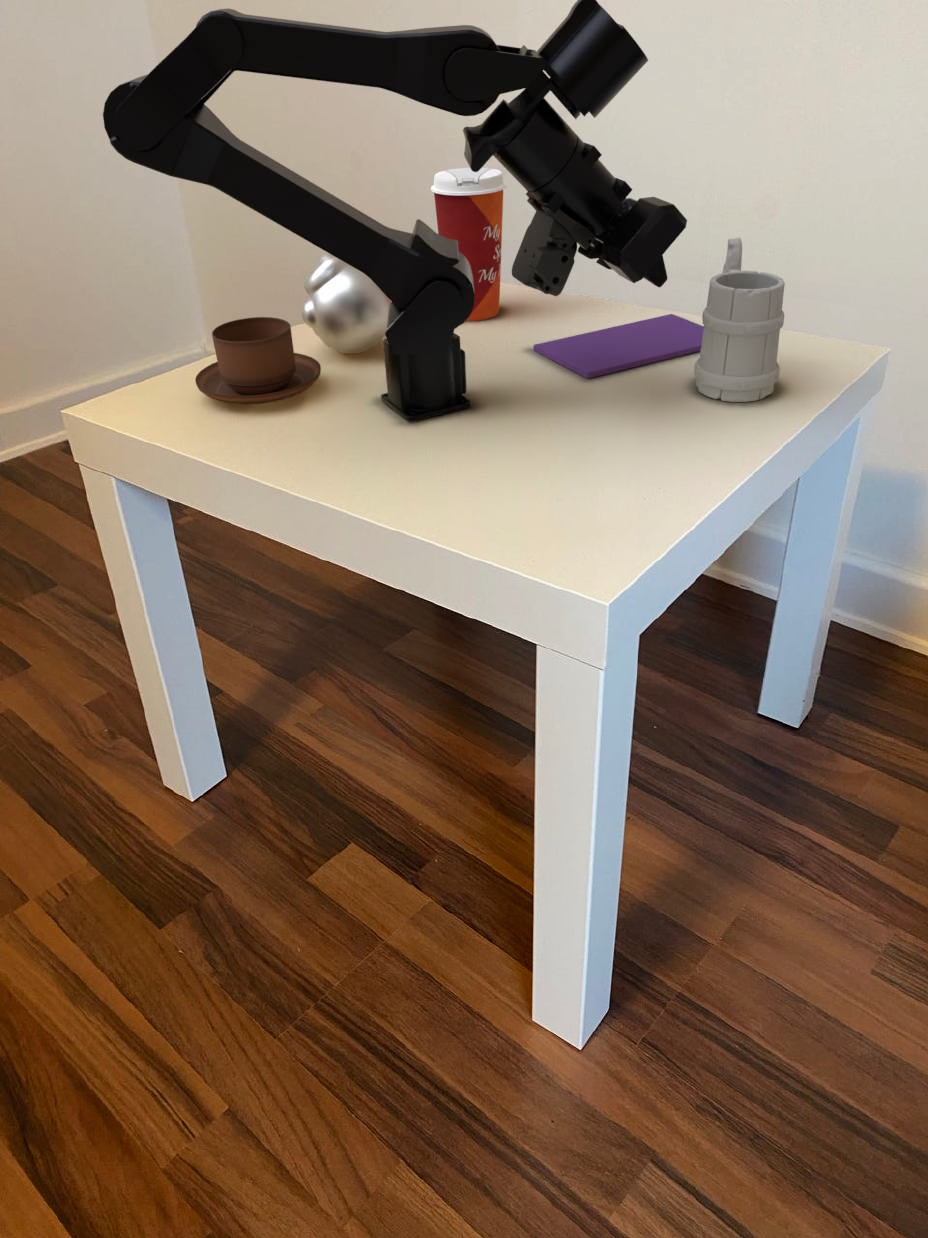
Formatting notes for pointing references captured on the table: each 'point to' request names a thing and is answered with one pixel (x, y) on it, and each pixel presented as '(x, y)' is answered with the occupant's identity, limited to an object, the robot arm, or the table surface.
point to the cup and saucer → (256, 363)
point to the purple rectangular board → (625, 345)
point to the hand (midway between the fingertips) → (662, 282)
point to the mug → (740, 332)
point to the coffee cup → (474, 228)
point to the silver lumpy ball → (344, 306)
